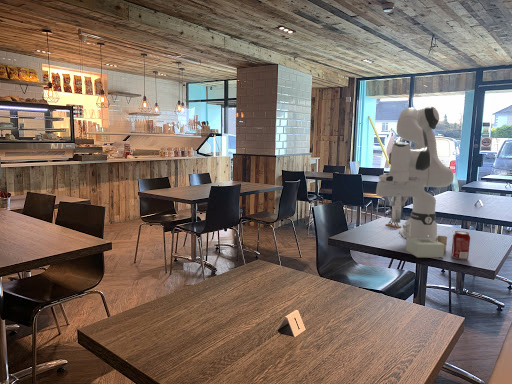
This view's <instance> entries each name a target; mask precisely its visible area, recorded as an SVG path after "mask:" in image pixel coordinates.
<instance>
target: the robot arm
mask: <svg viewBox="0 0 512 384" xmlns="http://www.w3.org/2000/svg"><path fill="white" fill-rule="evenodd" d="M439 121H440V115H439V111H438V110H437V109H436V107H435V106H426V107H425V108H422V109H418V110H417V109H416V108H414V107H407V108H404V109H403V110H402V111H401V112H400V114H399V116H398V118H397V122H396V134H397V135H398V137H399V138H401V139H402V140H404V141H397V142H394V143H393V144H392V147H391V152H389V157H388V164H389V165H390V168H389V172H387V173H384V174H381V175H379V176H378V179H379V181H378V182H377V184H376V188H375V189H376V190H375V194H376V196H378V197H383V198H384V197H386V198H387V200H388V202H389V203H388V205H389V207H393V206H394V202H393V197H397V194H402V207H405V206H406V202H407V201H408V199H409V197H410V198H412V211H411V213H410V215H409V218H408V219H407V220H406V221H405V222H404V223H403V224H402V229H400V230H399V229H398V230H399V231H398V233H399V234H400V235H401V236H402V237H403V239H407V238H420V237H421V238H432V239H434V240H436V241H437V240H438V236H439V235H438V233H437V232H438V223H437V222H436V218H437V216H436V203H437V200H436V197H435V196H433V195H432V194H431V193H429V192H428V191H426V190H425V188H445V187H446V188H447V187H450V186H451V184H452V183H453V181H454V179H455V177H454V173H453V170H452V169H451V168H450V167H448V166H446V165H445V164H443V162H442V161H441V160H440V158H439V155H438V151H437V140H436V135H435V133H434V131H433V130H435V129H436V128H437V125H438V124H439ZM405 141H408V142H405ZM409 142H412V143H414V148H413V149H412V148H411V143H409ZM427 235H429V237H428V236H427Z"/></svg>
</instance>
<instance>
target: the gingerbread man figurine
mask: <svg viewBox="0 0 512 384" xmlns="http://www.w3.org/2000/svg"><path fill="white" fill-rule="evenodd" d="M388 214H389V215H390V217H391V218H390V220H389V222H388V223H386V224H385V227H389V228H394V229H398V230H399V229H401V228H402V226H401V225H399V223H394V222H391V221H392V209H389V210H388Z"/></svg>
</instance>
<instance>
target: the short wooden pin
mask: <svg viewBox="0 0 512 384" xmlns="http://www.w3.org/2000/svg"><path fill="white" fill-rule="evenodd" d="M437 236H438V239H436V241H438V242H440V243H442V244H444V253H446V251H447V242H448V236H447V235H437Z"/></svg>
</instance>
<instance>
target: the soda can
mask: <svg viewBox="0 0 512 384" xmlns="http://www.w3.org/2000/svg"><path fill="white" fill-rule="evenodd" d="M470 242H471V236H470V232H468V231H465V230H455V232H454V234H453V236H452V243H451V244H452V245H451V254H450V255H451V257H452V258H453V259H455V260H459V261H465V260H467V259H469V253H470V245H471V244H470Z"/></svg>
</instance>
